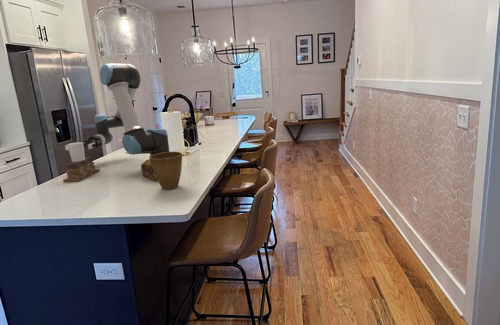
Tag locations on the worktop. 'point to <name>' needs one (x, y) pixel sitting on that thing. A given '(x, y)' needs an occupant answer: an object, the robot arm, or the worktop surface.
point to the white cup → (76, 151)
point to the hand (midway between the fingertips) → (77, 147)
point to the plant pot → (167, 168)
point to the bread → (148, 170)
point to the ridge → (80, 170)
